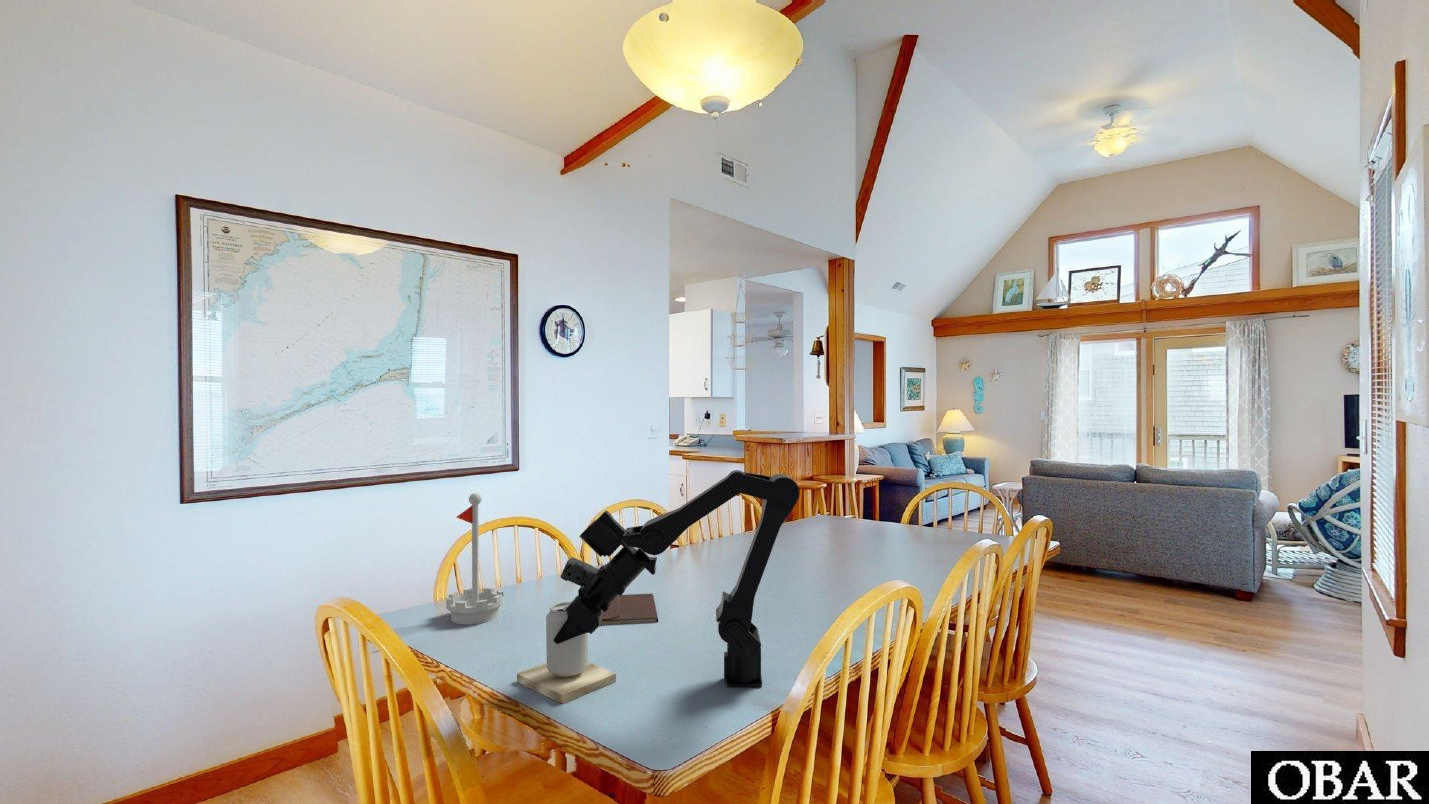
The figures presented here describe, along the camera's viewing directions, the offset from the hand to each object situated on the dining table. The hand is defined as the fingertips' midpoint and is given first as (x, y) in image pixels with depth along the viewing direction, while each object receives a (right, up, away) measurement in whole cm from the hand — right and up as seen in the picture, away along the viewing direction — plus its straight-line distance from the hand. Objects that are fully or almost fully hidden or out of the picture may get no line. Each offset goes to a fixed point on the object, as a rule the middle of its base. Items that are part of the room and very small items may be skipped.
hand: (559, 634), depth 123 cm
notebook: (+7, -9, +42) cm, 43 cm away
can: (+1, -7, 0) cm, 7 cm away
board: (+1, -9, 0) cm, 9 cm away
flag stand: (-29, -9, +38) cm, 48 cm away
